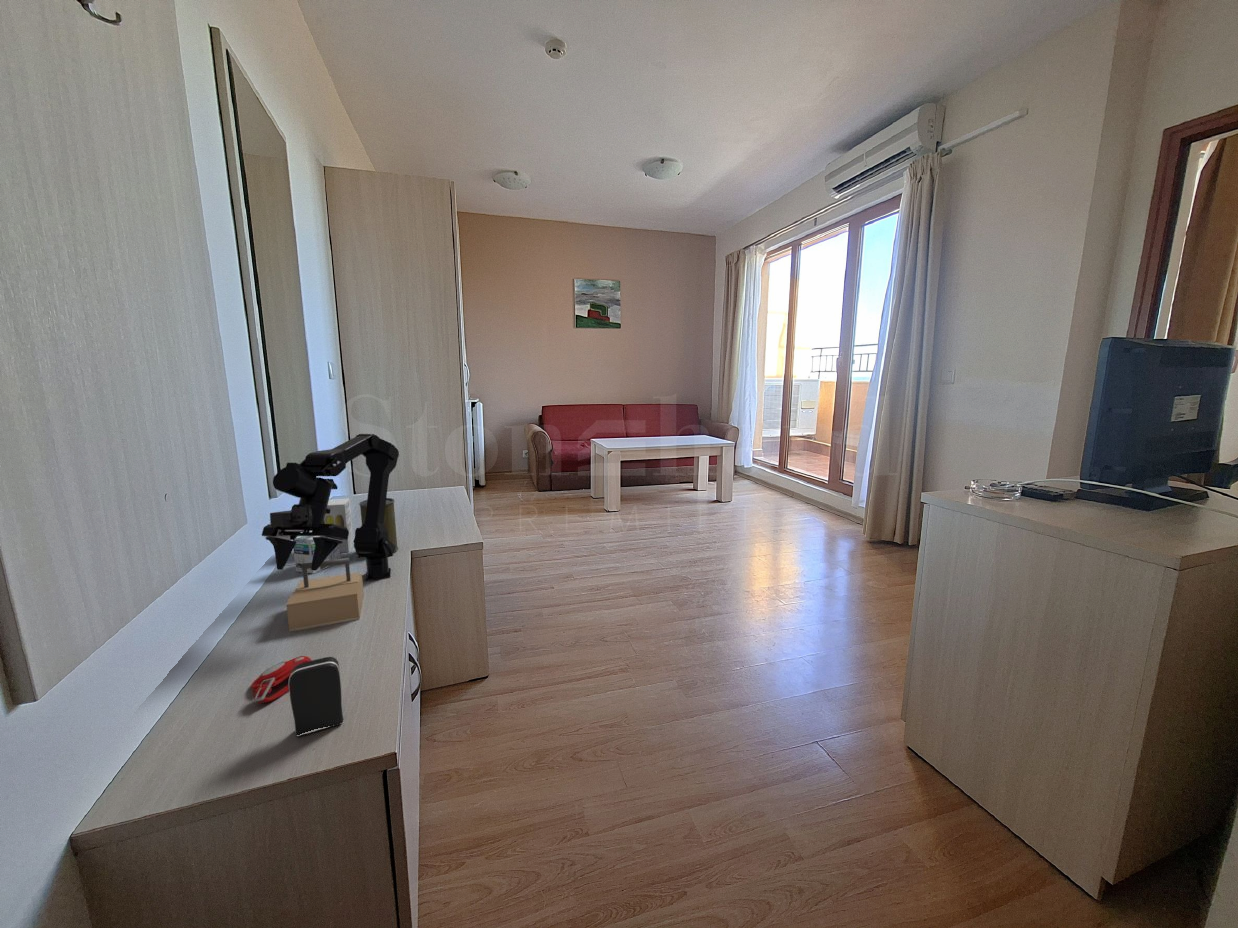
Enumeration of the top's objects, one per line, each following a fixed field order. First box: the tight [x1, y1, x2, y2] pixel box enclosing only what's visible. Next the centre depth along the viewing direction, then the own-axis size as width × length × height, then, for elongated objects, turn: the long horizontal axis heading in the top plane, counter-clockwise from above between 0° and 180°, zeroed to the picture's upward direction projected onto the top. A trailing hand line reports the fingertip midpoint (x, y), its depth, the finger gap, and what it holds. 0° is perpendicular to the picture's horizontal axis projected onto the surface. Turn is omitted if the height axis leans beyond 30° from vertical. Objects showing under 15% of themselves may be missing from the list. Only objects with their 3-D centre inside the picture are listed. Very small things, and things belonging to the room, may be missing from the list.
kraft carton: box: [285, 573, 365, 633], centre depth 114 cm, size 14×14×7 cm
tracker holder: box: [250, 655, 312, 704], centre depth 87 cm, size 12×4×10 cm
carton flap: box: [294, 557, 361, 592], centre depth 116 cm, size 6×13×7 cm, turn 115°
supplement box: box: [323, 497, 354, 554], centre depth 156 cm, size 10×9×17 cm
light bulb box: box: [292, 531, 341, 575], centre depth 142 cm, size 11×7×11 cm, turn 168°
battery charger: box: [288, 656, 345, 736], centre depth 76 cm, size 7×4×11 cm, turn 120°
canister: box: [358, 497, 399, 552], centre depth 155 cm, size 11×10×20 cm
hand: (296, 569), depth 105 cm, fingers open, 9 cm apart
